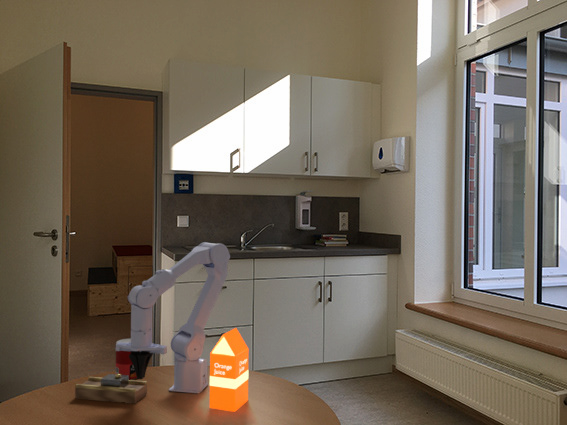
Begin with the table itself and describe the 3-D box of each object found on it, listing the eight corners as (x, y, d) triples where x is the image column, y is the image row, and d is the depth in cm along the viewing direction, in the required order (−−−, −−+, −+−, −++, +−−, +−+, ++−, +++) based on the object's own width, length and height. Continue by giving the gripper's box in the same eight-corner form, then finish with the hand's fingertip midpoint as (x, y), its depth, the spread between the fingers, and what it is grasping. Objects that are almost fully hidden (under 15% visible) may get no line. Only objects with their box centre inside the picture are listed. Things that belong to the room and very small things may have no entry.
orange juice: (248, 400, 137) (249, 328, 137) (235, 412, 129) (236, 335, 129) (223, 396, 140) (224, 326, 140) (208, 408, 132) (209, 333, 132)
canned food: (134, 381, 152) (134, 345, 152) (110, 379, 154) (110, 343, 154) (145, 373, 160) (146, 339, 160) (123, 371, 161) (123, 337, 161)
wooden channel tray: (146, 394, 141) (146, 381, 141) (134, 403, 134) (134, 389, 134) (89, 389, 144) (89, 376, 144) (75, 398, 137) (75, 384, 137)
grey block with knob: (128, 384, 141) (128, 372, 141) (120, 389, 136) (120, 377, 136) (109, 382, 142) (109, 371, 142) (100, 387, 137) (100, 376, 137)
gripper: (110, 330, 135) (109, 380, 135) (159, 334, 132) (158, 384, 132) (123, 325, 142) (122, 372, 142) (170, 328, 139) (169, 376, 139)
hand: (140, 378), depth 137 cm, fingers closed
